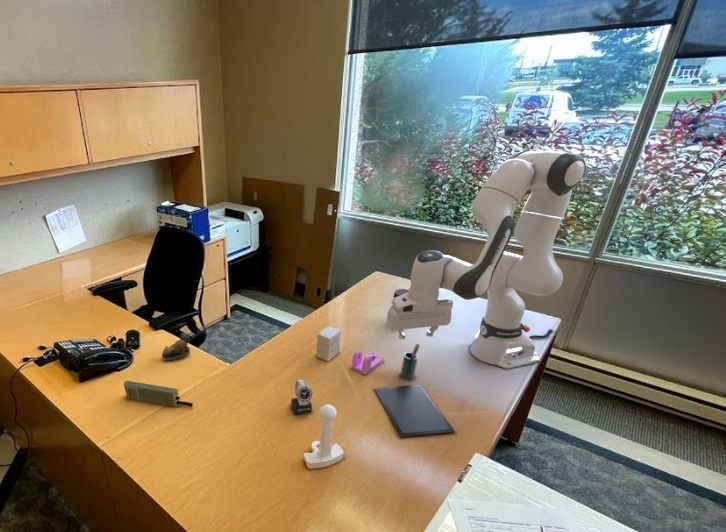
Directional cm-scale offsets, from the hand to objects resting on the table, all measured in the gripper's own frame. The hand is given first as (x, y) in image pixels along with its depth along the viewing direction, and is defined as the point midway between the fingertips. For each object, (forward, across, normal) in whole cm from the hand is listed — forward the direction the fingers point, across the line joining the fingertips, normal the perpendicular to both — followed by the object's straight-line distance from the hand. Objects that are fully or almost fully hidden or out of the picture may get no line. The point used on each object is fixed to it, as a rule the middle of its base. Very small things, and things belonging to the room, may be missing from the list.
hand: (415, 337), depth 140 cm
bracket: (+17, +11, -8) cm, 22 cm away
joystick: (+16, +40, +32) cm, 54 cm away
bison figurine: (+16, +84, -24) cm, 89 cm away
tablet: (+16, +7, +17) cm, 25 cm away
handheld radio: (+15, +89, +3) cm, 90 cm away
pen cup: (+16, 0, 0) cm, 17 cm away
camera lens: (+17, -12, -35) cm, 41 cm away
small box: (+16, +24, -17) cm, 34 cm away
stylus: (+16, 0, -1) cm, 16 cm away
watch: (+16, +41, +12) cm, 46 cm away
